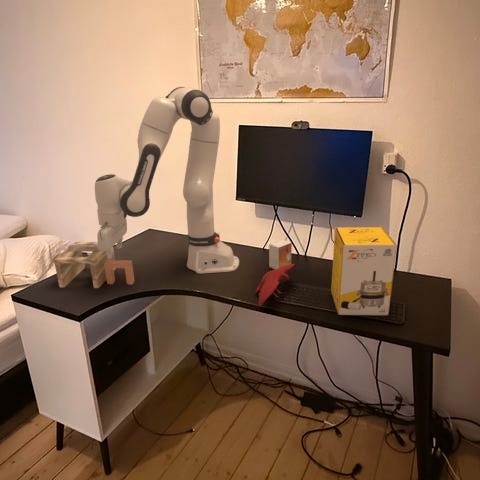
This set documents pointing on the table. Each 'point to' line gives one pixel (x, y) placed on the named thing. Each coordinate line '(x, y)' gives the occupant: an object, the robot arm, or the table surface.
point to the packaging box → (362, 270)
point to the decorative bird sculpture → (271, 282)
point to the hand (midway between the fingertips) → (115, 252)
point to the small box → (280, 254)
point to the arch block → (119, 264)
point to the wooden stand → (81, 263)
